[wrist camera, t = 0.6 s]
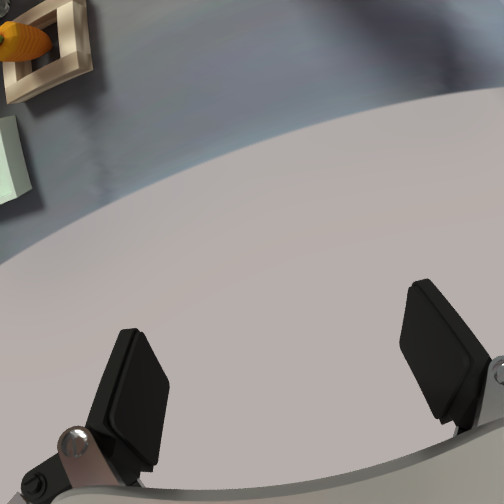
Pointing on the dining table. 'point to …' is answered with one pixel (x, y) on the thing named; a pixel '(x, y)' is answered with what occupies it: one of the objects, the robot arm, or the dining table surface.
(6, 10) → the rose bouquet
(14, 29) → the carrot
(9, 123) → the tray
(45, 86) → the wooden stand
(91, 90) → the dining table surface
